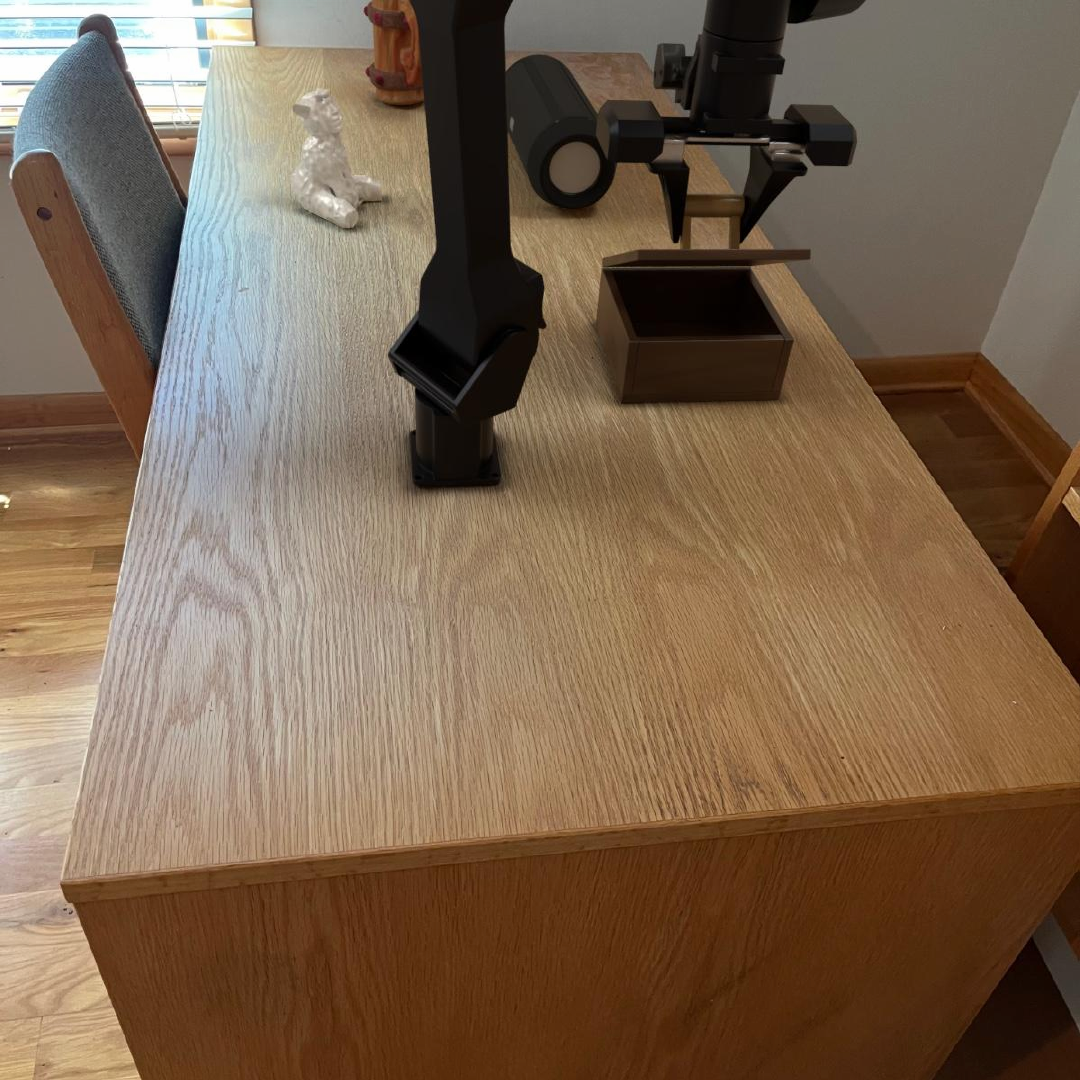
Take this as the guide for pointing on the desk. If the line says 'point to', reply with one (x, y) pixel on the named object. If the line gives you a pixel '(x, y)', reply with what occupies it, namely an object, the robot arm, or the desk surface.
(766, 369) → the keepsake box
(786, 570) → the desk surface
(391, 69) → the mug
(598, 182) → the portable speaker
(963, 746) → the desk surface
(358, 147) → the desk surface
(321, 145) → the white creature statuette
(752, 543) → the desk surface
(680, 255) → the lid
